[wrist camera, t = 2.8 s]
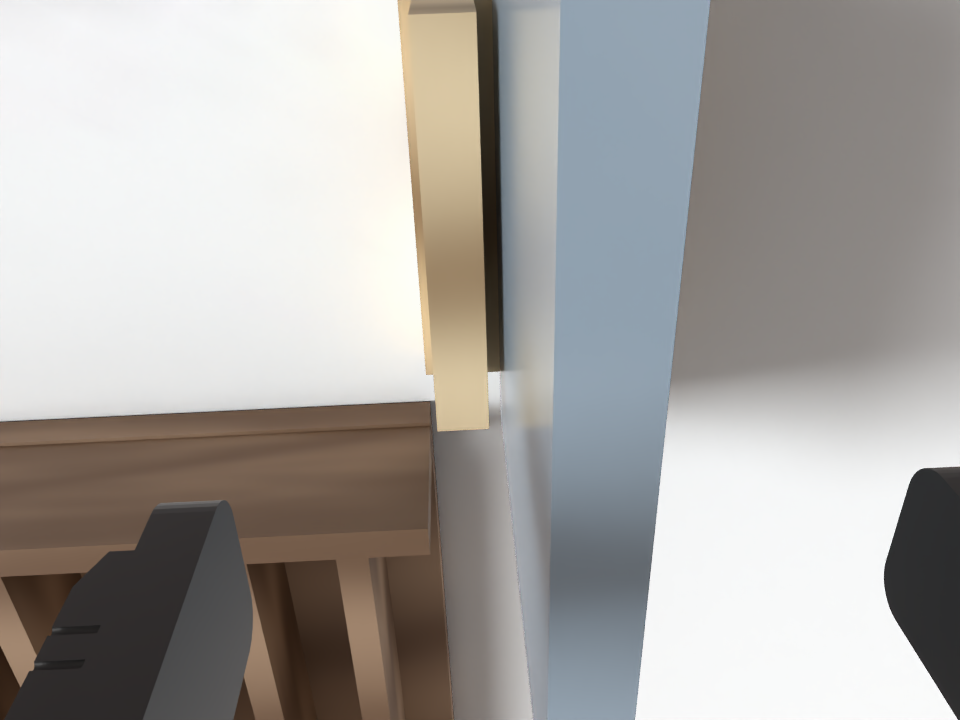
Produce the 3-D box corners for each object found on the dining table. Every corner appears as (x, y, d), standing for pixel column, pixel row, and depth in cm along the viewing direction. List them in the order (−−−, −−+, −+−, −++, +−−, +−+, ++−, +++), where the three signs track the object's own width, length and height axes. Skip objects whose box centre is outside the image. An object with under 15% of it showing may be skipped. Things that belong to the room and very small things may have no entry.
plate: (489, -93, 16) (560, -30, 6) (551, -95, 16) (714, -36, 6) (500, 419, 22) (545, 832, 13) (545, 416, 22) (623, 828, 13)
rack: (-155, 429, 23) (-294, 562, 18) (430, 401, 23) (427, 525, 19) (28, 777, 31) (-38, 924, 27) (456, 753, 31) (459, 895, 27)
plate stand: (399, -11, 17) (390, 15, 14) (634, -20, 18) (674, 4, 15) (426, 354, 22) (424, 432, 19) (612, 346, 22) (639, 421, 19)
